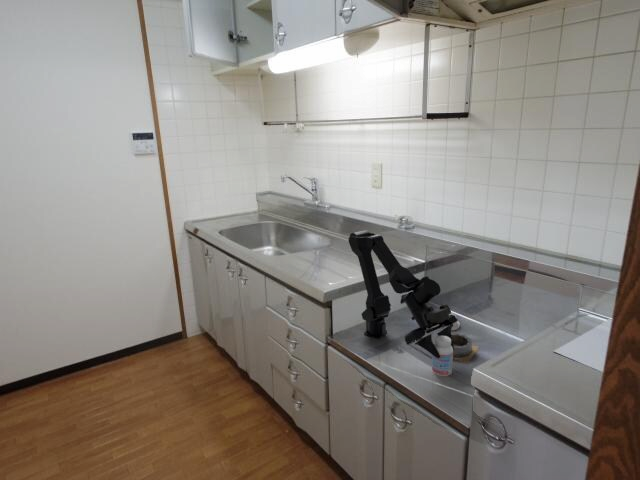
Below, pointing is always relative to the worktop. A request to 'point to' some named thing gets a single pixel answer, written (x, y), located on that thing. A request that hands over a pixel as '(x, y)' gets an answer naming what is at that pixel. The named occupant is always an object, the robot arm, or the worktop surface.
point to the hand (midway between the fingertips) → (446, 354)
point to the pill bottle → (443, 356)
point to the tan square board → (467, 359)
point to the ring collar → (466, 345)
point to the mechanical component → (455, 324)
